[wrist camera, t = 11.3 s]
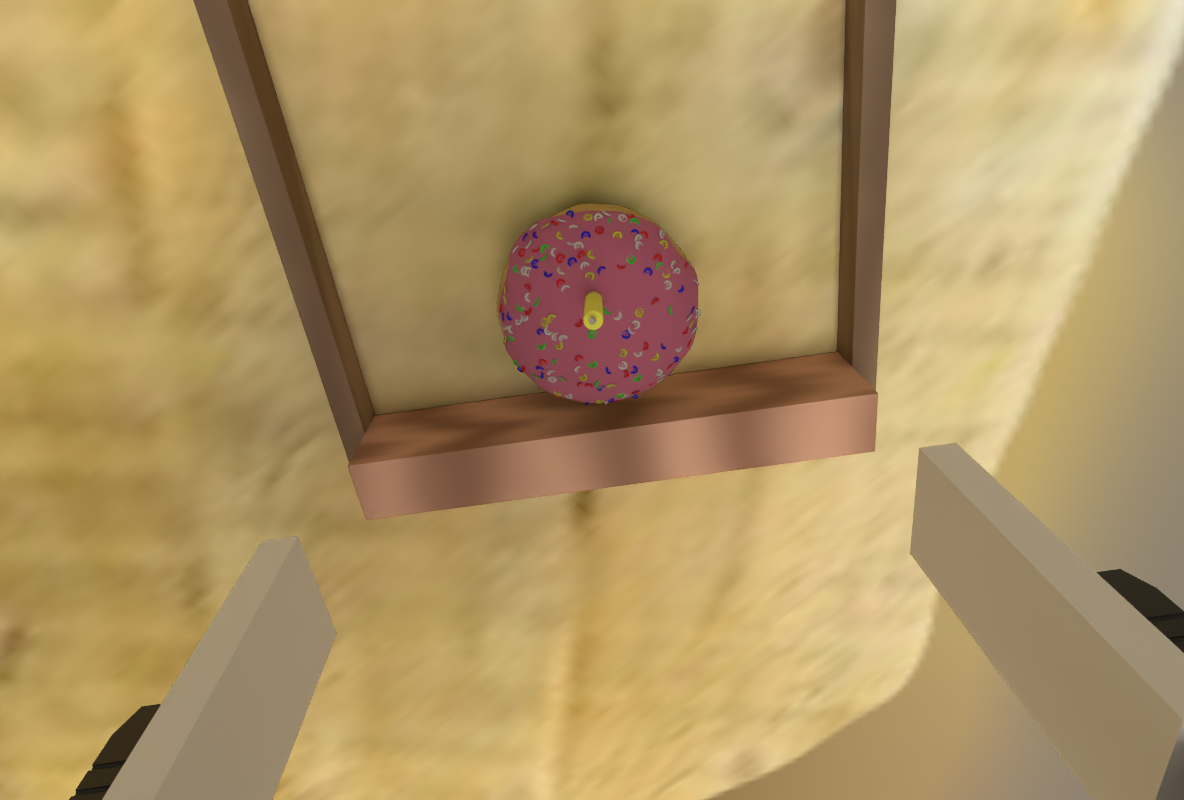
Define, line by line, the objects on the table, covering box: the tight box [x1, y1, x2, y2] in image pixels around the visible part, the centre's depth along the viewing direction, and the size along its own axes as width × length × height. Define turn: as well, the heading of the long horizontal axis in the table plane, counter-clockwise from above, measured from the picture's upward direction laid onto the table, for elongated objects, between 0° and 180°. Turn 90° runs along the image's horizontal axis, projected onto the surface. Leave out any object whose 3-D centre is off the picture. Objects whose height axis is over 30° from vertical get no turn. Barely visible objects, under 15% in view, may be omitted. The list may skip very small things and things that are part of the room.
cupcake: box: [497, 204, 701, 405], centre depth 27 cm, size 9×8×12 cm
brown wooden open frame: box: [194, 0, 896, 520], centre depth 29 cm, size 26×26×5 cm
